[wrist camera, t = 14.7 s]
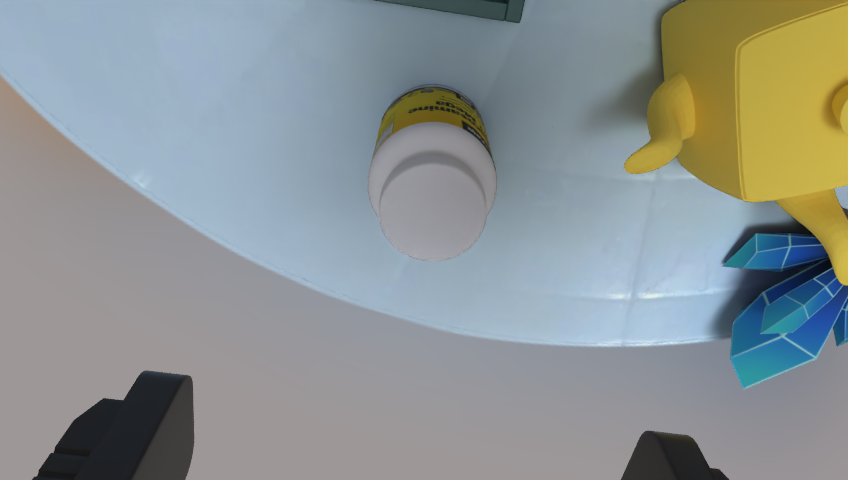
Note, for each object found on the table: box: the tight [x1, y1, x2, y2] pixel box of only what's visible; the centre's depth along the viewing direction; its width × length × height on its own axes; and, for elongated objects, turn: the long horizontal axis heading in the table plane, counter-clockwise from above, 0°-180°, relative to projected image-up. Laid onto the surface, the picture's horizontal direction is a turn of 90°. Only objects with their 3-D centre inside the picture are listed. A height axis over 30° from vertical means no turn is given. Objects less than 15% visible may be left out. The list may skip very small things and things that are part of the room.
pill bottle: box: [368, 85, 497, 261], centre depth 30 cm, size 6×6×11 cm
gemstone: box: [723, 207, 848, 389], centre depth 38 cm, size 7×9×12 cm
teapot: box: [624, 0, 848, 285], centre depth 29 cm, size 15×14×10 cm
